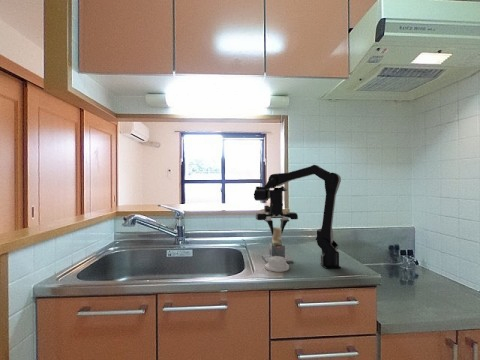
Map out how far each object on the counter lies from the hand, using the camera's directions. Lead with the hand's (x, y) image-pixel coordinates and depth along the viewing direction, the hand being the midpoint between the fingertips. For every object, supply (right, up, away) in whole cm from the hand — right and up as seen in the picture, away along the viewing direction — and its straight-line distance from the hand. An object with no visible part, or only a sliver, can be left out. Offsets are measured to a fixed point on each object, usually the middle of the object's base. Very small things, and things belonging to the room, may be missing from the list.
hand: (276, 234), depth 127 cm
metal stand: (0, -12, 0) cm, 12 cm away
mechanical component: (-2, -12, -13) cm, 17 cm away
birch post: (0, -7, 0) cm, 7 cm away
